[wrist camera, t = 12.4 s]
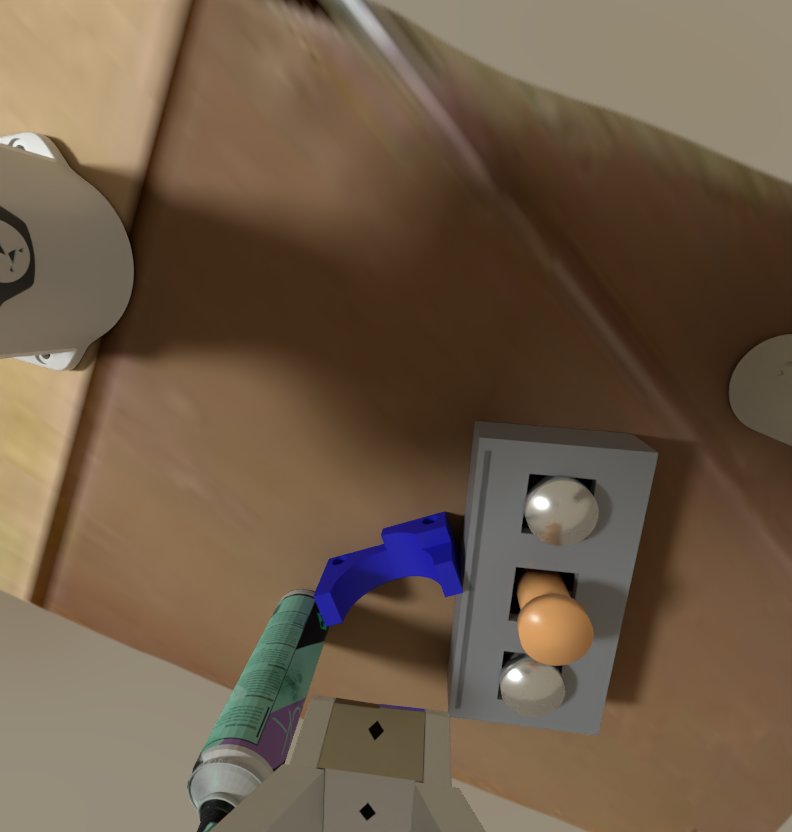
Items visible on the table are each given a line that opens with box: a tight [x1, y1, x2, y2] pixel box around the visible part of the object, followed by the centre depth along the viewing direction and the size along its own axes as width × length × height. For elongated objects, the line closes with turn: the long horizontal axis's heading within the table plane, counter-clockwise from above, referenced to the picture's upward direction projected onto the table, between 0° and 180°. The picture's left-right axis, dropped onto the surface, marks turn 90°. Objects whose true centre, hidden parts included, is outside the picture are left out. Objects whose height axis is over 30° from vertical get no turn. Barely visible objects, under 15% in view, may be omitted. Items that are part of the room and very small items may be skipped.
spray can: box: [187, 589, 329, 832], centre depth 37 cm, size 6×6×20 cm
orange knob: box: [515, 568, 594, 666], centre depth 37 cm, size 5×5×6 cm
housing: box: [447, 421, 659, 735], centre depth 41 cm, size 13×26×5 cm, turn 176°
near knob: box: [524, 474, 599, 546], centre depth 38 cm, size 5×5×6 cm
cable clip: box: [313, 512, 463, 627], centre depth 41 cm, size 12×4×6 cm, turn 109°
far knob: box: [499, 651, 565, 717], centre depth 42 cm, size 5×5×6 cm
